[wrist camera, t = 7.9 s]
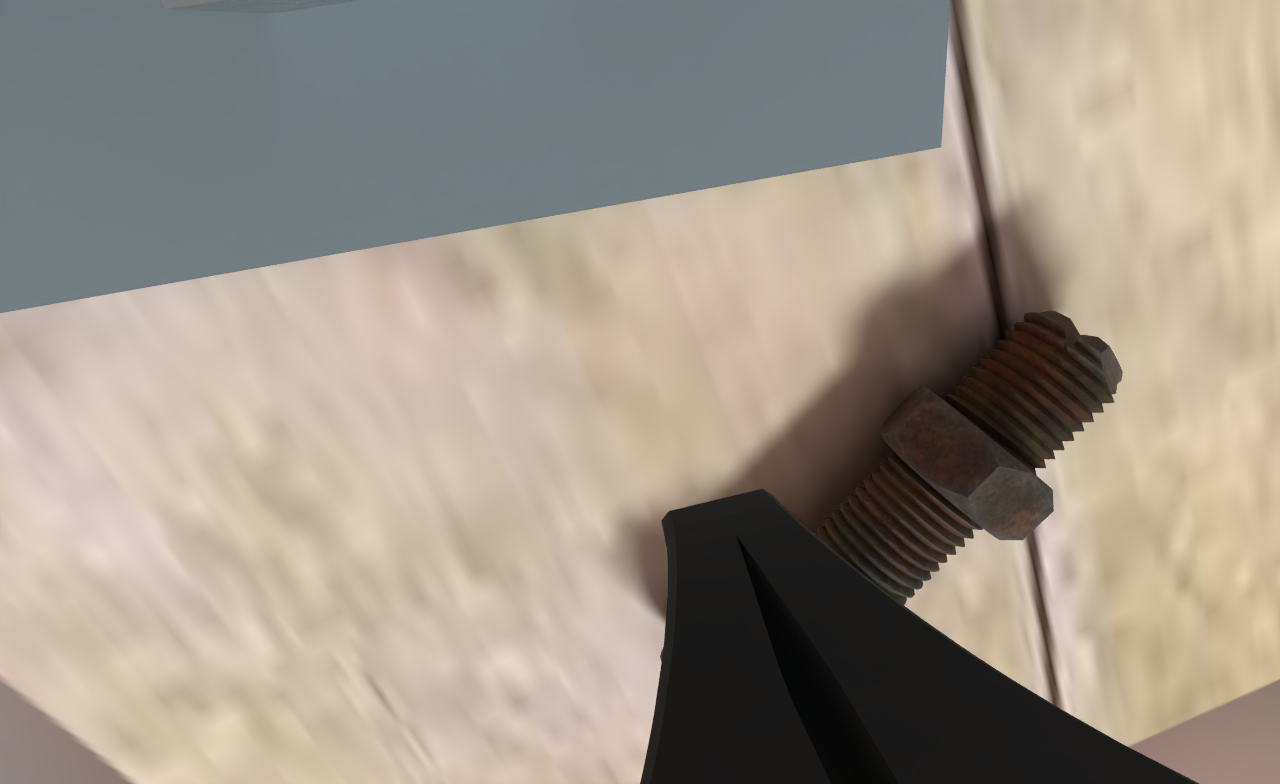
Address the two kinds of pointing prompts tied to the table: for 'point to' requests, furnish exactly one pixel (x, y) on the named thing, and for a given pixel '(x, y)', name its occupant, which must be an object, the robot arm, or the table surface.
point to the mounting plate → (417, 120)
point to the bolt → (973, 454)
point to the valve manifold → (248, 5)
